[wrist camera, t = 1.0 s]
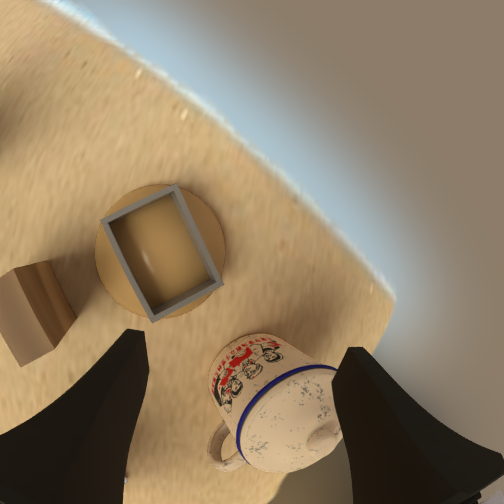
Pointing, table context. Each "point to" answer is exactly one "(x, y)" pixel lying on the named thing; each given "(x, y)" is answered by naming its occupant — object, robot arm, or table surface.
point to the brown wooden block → (33, 311)
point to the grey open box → (160, 251)
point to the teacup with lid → (272, 406)
